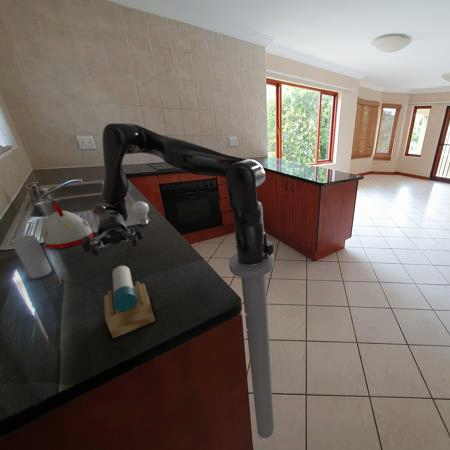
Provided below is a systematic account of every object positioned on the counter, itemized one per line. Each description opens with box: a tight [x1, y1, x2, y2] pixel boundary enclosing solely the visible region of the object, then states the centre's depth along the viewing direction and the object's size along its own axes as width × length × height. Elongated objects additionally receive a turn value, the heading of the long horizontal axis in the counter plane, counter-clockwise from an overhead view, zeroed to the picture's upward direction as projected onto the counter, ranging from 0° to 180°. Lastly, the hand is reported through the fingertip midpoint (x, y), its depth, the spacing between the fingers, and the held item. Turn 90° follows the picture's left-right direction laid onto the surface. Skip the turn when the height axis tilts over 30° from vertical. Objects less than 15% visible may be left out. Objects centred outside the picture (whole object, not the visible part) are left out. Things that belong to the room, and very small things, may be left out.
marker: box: [111, 265, 137, 311], centre depth 55 cm, size 15×4×4 cm, turn 38°
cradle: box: [103, 280, 156, 339], centre depth 55 cm, size 8×9×6 cm
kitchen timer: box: [40, 202, 94, 249], centre depth 89 cm, size 14×14×15 cm
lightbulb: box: [131, 200, 150, 226], centre depth 104 cm, size 6×6×11 cm
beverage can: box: [11, 235, 53, 279], centre depth 69 cm, size 5×5×12 cm
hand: (115, 247), depth 66 cm, fingers open, 8 cm apart
